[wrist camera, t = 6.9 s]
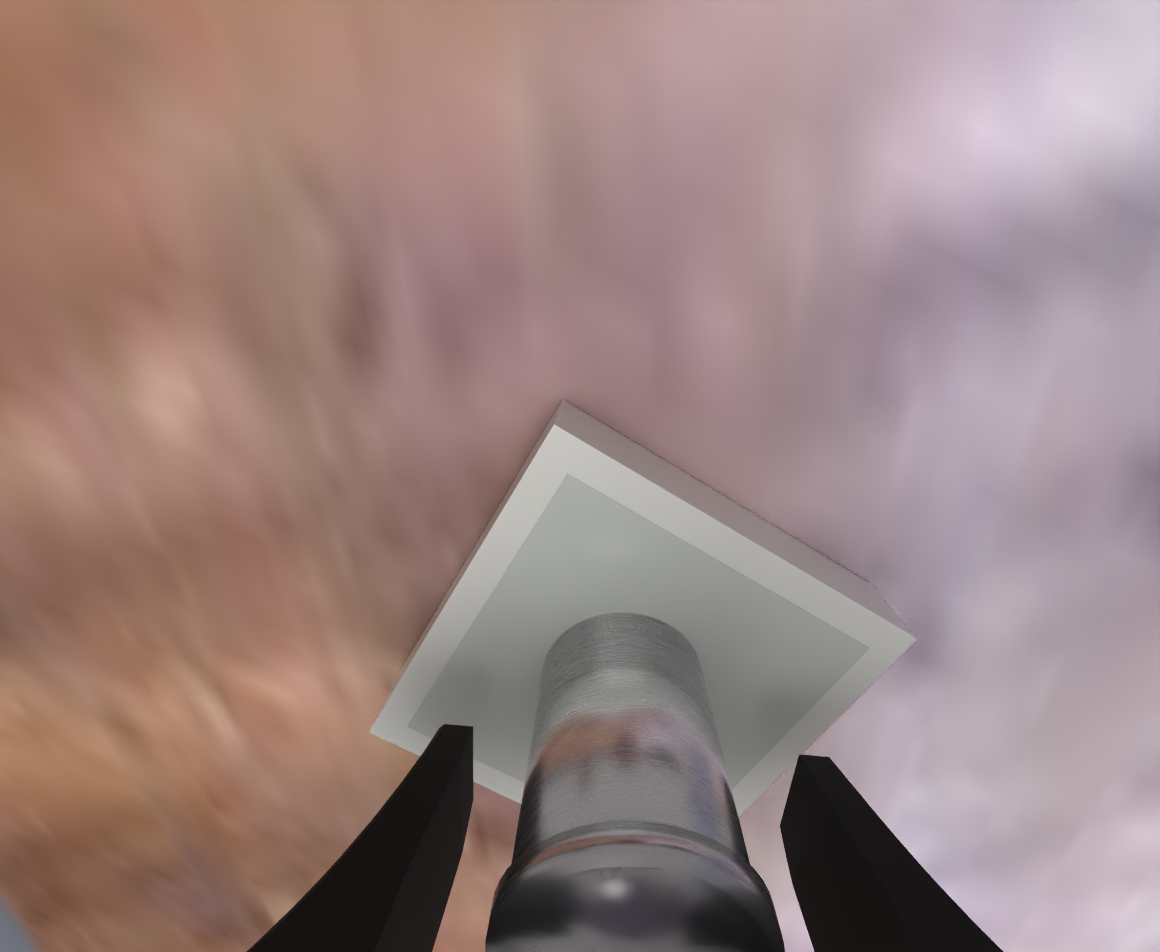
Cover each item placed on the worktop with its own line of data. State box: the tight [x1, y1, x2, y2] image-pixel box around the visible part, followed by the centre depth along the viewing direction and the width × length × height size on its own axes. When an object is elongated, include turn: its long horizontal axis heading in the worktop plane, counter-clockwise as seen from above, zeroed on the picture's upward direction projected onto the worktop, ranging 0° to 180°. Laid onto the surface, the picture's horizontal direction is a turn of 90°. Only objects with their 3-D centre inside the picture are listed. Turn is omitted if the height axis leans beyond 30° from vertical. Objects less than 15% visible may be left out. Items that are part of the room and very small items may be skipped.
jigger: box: [486, 612, 785, 952], centre depth 11 cm, size 4×4×6 cm
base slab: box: [369, 400, 917, 817], centre depth 15 cm, size 10×10×3 cm
